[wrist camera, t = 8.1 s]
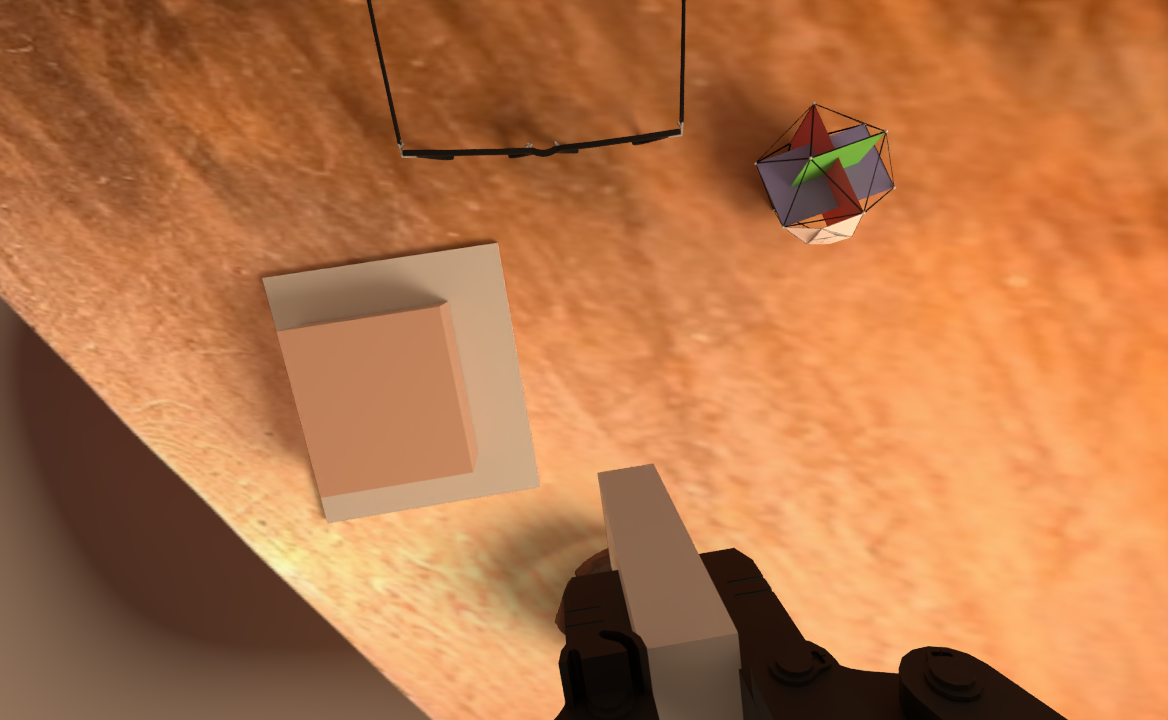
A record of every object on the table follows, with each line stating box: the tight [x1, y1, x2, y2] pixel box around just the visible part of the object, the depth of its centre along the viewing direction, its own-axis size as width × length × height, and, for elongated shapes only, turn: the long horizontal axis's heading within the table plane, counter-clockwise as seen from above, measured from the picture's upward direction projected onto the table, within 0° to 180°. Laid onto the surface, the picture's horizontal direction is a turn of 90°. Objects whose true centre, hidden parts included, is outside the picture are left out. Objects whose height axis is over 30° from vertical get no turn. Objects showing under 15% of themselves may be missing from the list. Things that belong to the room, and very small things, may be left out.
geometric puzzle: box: [754, 102, 896, 244], centre depth 32 cm, size 7×7×8 cm
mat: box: [262, 243, 540, 523], centre depth 35 cm, size 16×14×1 cm
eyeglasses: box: [367, 0, 686, 160], centre depth 30 cm, size 16×16×4 cm
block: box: [277, 301, 478, 498], centre depth 34 cm, size 10×3×9 cm
